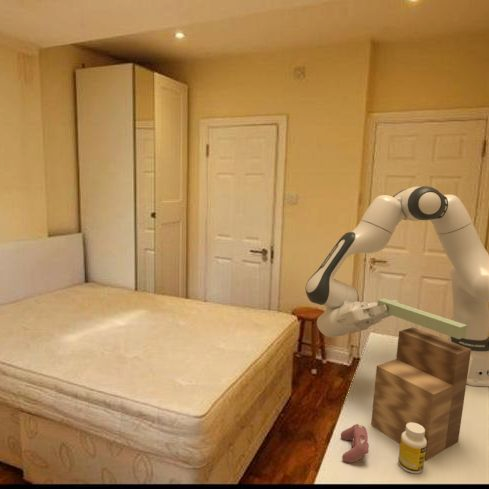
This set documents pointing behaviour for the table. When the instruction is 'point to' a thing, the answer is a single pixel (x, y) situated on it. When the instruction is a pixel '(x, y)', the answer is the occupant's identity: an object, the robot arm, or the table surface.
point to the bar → (425, 319)
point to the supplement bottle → (412, 448)
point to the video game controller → (356, 442)
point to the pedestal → (422, 389)
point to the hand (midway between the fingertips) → (391, 306)
